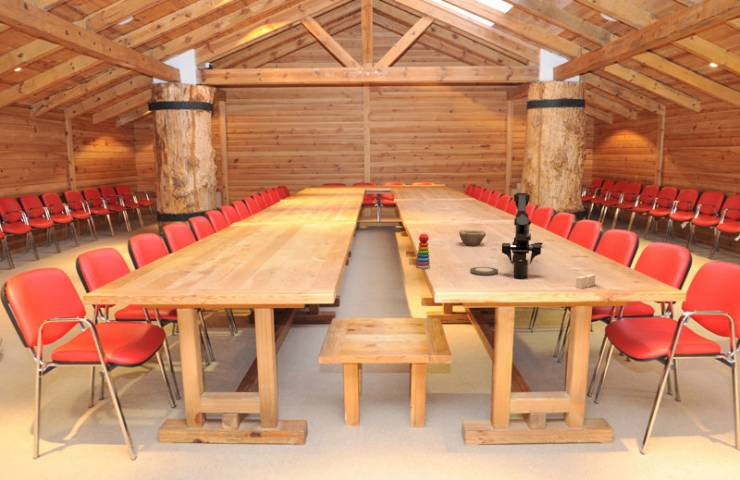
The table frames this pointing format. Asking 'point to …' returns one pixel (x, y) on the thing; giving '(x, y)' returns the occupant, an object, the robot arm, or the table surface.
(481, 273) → the hub pad
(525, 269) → the supplement bottle
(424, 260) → the stacking toy
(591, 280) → the napkin holder
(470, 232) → the mortar
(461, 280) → the table surface
